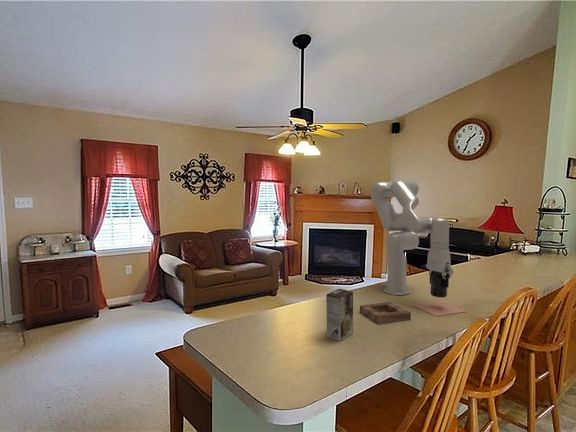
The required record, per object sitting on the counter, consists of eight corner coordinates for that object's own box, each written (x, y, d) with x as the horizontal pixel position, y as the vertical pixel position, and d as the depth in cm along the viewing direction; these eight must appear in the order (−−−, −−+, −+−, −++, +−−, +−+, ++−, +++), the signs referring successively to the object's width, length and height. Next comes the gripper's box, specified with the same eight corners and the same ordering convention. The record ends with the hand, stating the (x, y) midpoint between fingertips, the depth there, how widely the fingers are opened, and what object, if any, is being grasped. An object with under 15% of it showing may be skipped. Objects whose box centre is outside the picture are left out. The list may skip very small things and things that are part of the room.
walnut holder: (359, 312, 154) (359, 305, 154) (389, 308, 159) (389, 301, 158) (378, 324, 140) (378, 316, 139) (410, 319, 144) (410, 312, 144)
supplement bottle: (448, 298, 153) (449, 271, 152) (432, 297, 155) (432, 270, 154) (445, 293, 160) (445, 267, 159) (429, 293, 161) (429, 267, 161)
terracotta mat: (411, 305, 163) (411, 304, 163) (439, 301, 168) (439, 300, 168) (436, 316, 148) (436, 315, 148) (466, 312, 153) (466, 311, 153)
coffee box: (338, 329, 135) (338, 288, 134) (353, 333, 131) (353, 291, 130) (325, 337, 128) (325, 293, 127) (341, 341, 124) (341, 296, 123)
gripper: (419, 243, 163) (418, 281, 164) (447, 249, 146) (446, 291, 148) (432, 243, 165) (432, 280, 166) (461, 248, 149) (460, 289, 150)
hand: (438, 285), depth 157 cm, fingers closed on supplement bottle, 6 cm apart
